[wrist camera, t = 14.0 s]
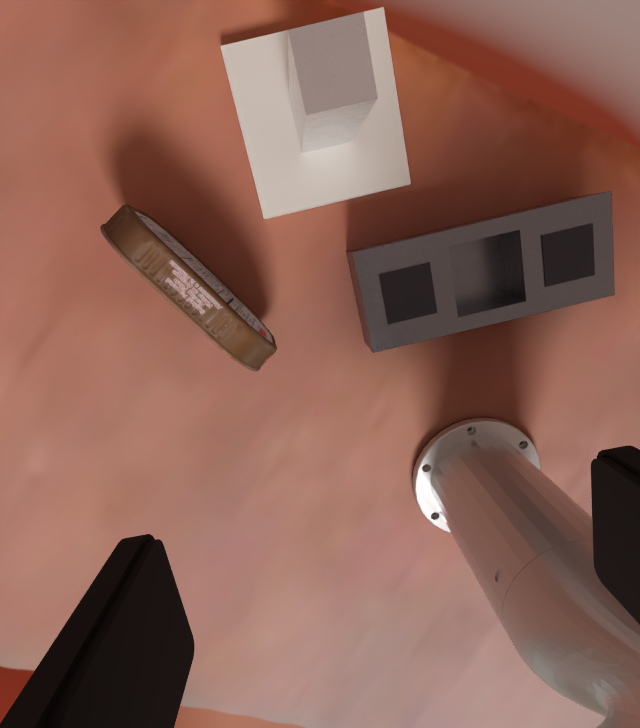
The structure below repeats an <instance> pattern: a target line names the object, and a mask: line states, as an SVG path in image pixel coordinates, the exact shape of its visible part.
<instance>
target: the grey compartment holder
mask: <svg viewBox="0 0 640 728" xmlns="http://www.w3.org/2000/svg"><path fill="white" fill-rule="evenodd" d="M346 253H347V258H348V262H349V267H350V272H351V277H352V282H353V287H354V292H355V297H356V302H357V306H358V311H359V316H360V321H361V326H362V331H363V336H364V341H365V343H366V344H367V346H368V347H369V348H370V350H371V351H372V352H373V353H374V352H379V351H383V350H387V349H391V348H395V347H400V346H404V345H408V344H412V343H416V342H420V341H425V340H429V339H433V338H437V337H441V336H446V335H450V334H454V333H458V332H462V331H466V330H471V329H475V328H479V327H483V326H487V325H491V324H496V323H500V322H504V321H508V320H512V319H517V318H521V317H525V316H529V315H533V314H537V313H542V312H546V311H550V310H554V309H558V308H562V307H567V306H571V305H575V304H579V303H583V302H588V301H592V300H596V299H600V298H604V297H608V296H613V295H615V292H614V258H613V224H612V191H608V192H602V193H596V194H590V195H584V196H578V197H574V198H569V199H565V200H561V201H557V202H553V203H549V204H544V205H540V206H536V207H532V208H528V209H523V210H519V211H515V212H511V213H507V214H503V215H498V216H494V217H490V218H486V219H482V220H478V221H473V222H469V223H465V224H461V225H457V226H452V227H448V228H444V229H440V230H436V231H432V232H427V233H423V234H419V235H415V236H411V237H407V238H402V239H398V240H394V241H390V242H386V243H381V244H377V245H373V246H369V247H365V248H361V249H356V250H352V251H348V252H346Z"/></svg>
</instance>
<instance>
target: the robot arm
mask: <svg viewBox="0 0 640 728" xmlns="http://www.w3.org/2000/svg"><path fill="white" fill-rule="evenodd" d="M469 427H470V428H469ZM468 428H469V429H468ZM412 484H413V493H414V496H415V499H416V502H417V504H418V506H419V508H420V510H421V511H422V513H423V514H424V515H425V517H426V518H427V519H428V520H429V521H430V522H431V523H432V524H434V525H435V526H436V527H438V528H440V529H442V530H444V531H446V532H449V533H452V535H453V537H454V539H455V540H456V542H457V544H458V546H459V548H460V549H461V551H462V553H463V555H464V557H465V558H466V560H467V562H468V564H469V566H470V567H471V569H472V571H473V573H474V575H475V576H476V578H477V580H478V582H479V584H480V585H481V587H482V589H483V591H484V593H485V594H486V596H487V598H488V600H489V602H490V603H491V605H492V607H493V609H494V611H495V612H496V614H497V616H498V618H499V620H500V621H501V623H502V625H503V627H504V629H505V630H506V632H507V634H508V636H509V637H510V639H511V641H512V643H513V645H514V646H515V648H516V650H517V652H518V653H519V655H520V656H521V658H522V659H523V661H524V662H525V663H526V664H527V666H528V667H529V668H530V669H531V670H532V671H533V673H534V674H536V675H537V676H538V677H539V678H540V679H541V680H542V681H543V682H544V683H546V684H547V685H548V686H549V687H551V688H552V689H553V690H555V691H556V692H558V693H559V694H561V695H563V696H564V697H566V698H568V699H569V700H571V701H573V702H575V703H577V704H579V705H581V706H583V707H585V708H587V709H589V710H591V711H593V712H596V713H598V714H600V715H602V716H605V717H606V718H605V720H604V721H603V722H602V723H601V724H600V725H599V726H598V727H596V728H640V450H639V449H637V448H635V447H633V446H623V447H617V448H612V449H607V450H602V451H600V452H599V453H598V455H597V459H594V460H593V461H592V463H591V487H592V517H591V516H590V515H589V514H588V513H586V512H585V511H584V510H583V509H582V508H581V507H580V506H579V505H578V504H576V503H575V502H574V501H573V500H572V499H571V498H570V497H569V496H568V495H567V494H565V493H564V492H563V491H562V490H561V489H560V488H559V487H558V486H557V485H556V484H554V483H553V482H552V481H551V480H550V479H549V478H548V477H547V476H546V475H544V474H543V473H542V472H541V464H540V459H539V455H538V453H537V450H536V448H535V446H534V445H533V443H532V442H531V441H530V439H529V438H528V437H527V436H526V435H525V434H524V433H522V432H521V431H520V430H519V429H517V428H516V427H514V426H513V425H511V424H509V423H507V422H504V421H501V420H498V419H492V418H473V419H468V420H463V421H461V422H458V423H455V424H453V425H451V426H449V427H447V428H445V429H444V430H442V431H440V432H439V433H438V434H437V435H436V436H435V437H433V438H432V439H431V440H430V441H429V442H428V444H427V445H426V446H425V447H424V448H423V450H422V452H421V454H420V455H419V457H418V459H417V461H416V464H415V467H414V471H413V478H412ZM193 656H194V639H193V635H192V632H191V629H190V626H189V623H188V619H187V616H186V613H185V610H184V607H183V604H182V601H181V598H180V595H179V592H178V588H177V585H176V582H175V579H174V576H173V573H172V570H171V567H170V564H169V560H168V557H167V554H166V551H165V548H164V545H163V543H162V541H161V540H159V539H158V540H155V539H154V537H153V536H152V535H150V534H146V535H141V536H135V537H130V538H125V539H122V540H121V541H120V542H119V543H118V544H117V546H116V548H115V549H114V551H113V552H112V554H111V555H110V557H109V558H108V560H107V561H106V563H105V564H104V566H103V567H102V569H101V570H100V572H99V574H98V575H97V577H96V578H95V580H94V581H93V583H92V584H91V586H90V587H89V589H88V590H87V592H86V593H85V595H84V596H83V598H82V600H81V601H80V603H79V604H78V606H77V607H76V609H75V610H74V612H73V613H72V615H71V616H70V618H69V619H68V621H67V622H66V624H65V626H64V627H63V629H62V630H61V632H60V633H59V635H58V636H57V638H56V639H55V641H54V642H53V644H52V645H51V647H50V648H49V650H48V652H47V653H46V655H45V656H44V658H43V659H42V661H41V662H40V664H39V665H38V667H37V668H36V670H35V671H34V673H33V675H32V676H31V678H30V679H29V681H28V682H27V684H26V685H25V687H24V688H23V690H22V691H21V693H20V694H19V696H18V698H17V699H16V701H15V702H14V704H13V705H12V707H11V708H10V710H9V711H8V713H7V714H6V716H5V717H4V719H3V720H2V722H1V723H0V728H174V725H175V721H176V718H177V714H178V711H179V707H180V704H181V700H182V696H183V693H184V689H185V686H186V682H187V679H188V675H189V671H190V668H191V664H192V661H193Z"/></svg>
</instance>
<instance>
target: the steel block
mask: <svg viewBox="0 0 640 728" xmlns="http://www.w3.org/2000/svg"><path fill="white" fill-rule="evenodd" d="M288 66H289V98H290V103H291V107H292V112H293V117H294V121H295V126H296V130H297V135H298V139H299V144H300V148H301V153H302V154H303V153H307V152H311V151H315V150H320V149H324V148H328V147H332V146H336V145H341V144H345V143H349V142H352V141H353V140H354V138H355V136H356V135H357V133H358V131H359V130H360V128H361V126H362V124H363V123H364V121H365V119H366V118H367V116H368V114H369V113H370V111H371V109H372V107H373V106H374V104H375V102H376V101H377V99H378V96H377V90H376V84H375V78H374V72H373V66H372V60H371V54H370V48H369V42H368V36H367V30H366V24H365V18H364V12H361V13H357V14H353V15H349V16H344V17H340V18H336V19H332V20H328V21H323V22H319V23H315V24H311V25H307V26H302V27H298V28H294V29H290V30H288Z"/></svg>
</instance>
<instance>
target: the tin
mask: <svg viewBox="0 0 640 728" xmlns="http://www.w3.org/2000/svg"><path fill="white" fill-rule="evenodd" d="M100 229H101V232H102V234H103V236H104V238H105V239H106V240H107V242H108V243H109V244H110V245H111V246H112V248H113V249H114V250H115V251H116V252H117V253H118V254H119V255H120V256H121V258H123V259H124V260H125V262H127V263H128V264H129V265H130V266H131V267H132V268H133V269H134V270H135V271H136V272H137V273H138V274H139V275H141V276H142V277H143V278H144V279H145V280H146V281H147V282H148V283H149V284H150V285H151V286H153V287H154V288H155V289H156V290H157V291H158V292H159V293H160V294H161V295H162V296H163V297H164V298H165V299H166V300H168V301H169V302H170V303H171V304H172V305H173V306H174V307H175V308H176V309H177V310H178V311H180V312H181V313H182V314H183V315H184V316H185V317H186V318H187V319H188V320H189V321H190V322H191V323H192V324H193V325H195V326H196V327H197V328H198V329H199V330H200V331H201V332H202V333H203V334H204V335H205V336H207V337H208V338H209V339H210V340H211V341H212V342H213V343H214V344H215V345H216V346H217V347H218V348H220V349H221V350H222V351H223V352H224V353H226V354H227V355H228V356H230V357H231V358H232V359H233V360H235V361H237V362H238V363H239V364H241V365H242V366H244V367H246V368H248V369H250V370H252V371H258V370H260V367H261V366H262V365H263V364H264V363H265V362H266V361H267V360H268V359H269V358H270V357H271V356H272V355H273V354H274V353H275V352H276V350H277V347H276V344H275V339H274V337H273V335H272V334H271V333H270V331H269V330H268V329H267V328H266V327H265V325H264V324H263V323H262V322H261V321H260V320H259V319H258V318H257V317H256V316H255V315H254V314H253V313H252V312H251V311H250V310H249V309H248V308H247V307H246V306H245V305H244V304H243V303H242V302H241V301H240V300H239V299H238V298H237V297H236V296H235V295H234V294H233V293H232V292H231V291H230V290H229V289H228V288H227V287H226V286H225V285H224V284H223V283H222V282H221V281H220V280H219V279H218V278H217V277H216V276H215V275H214V274H213V273H212V272H211V271H210V270H209V269H208V268H207V267H206V266H205V265H204V264H203V263H202V262H201V261H200V260H199V259H198V258H197V257H196V256H194V255H193V254H192V253H191V252H190V251H189V250H188V249H187V248H186V247H185V246H184V245H183V244H182V243H181V242H180V241H178V240H177V239H176V238H175V237H174V236H173V235H172V234H171V233H170V232H168V231H167V230H166V229H165V228H164V227H163V226H162V225H160V224H159V223H158V222H157V221H155V220H154V219H153V218H152V217H150V216H149V215H148V214H146V213H144V212H142V211H140V210H137V209H134V208H133V207H131V206H129V205H123V206H122V207H121V208H120V209H119V210H118V211H117V212H116V213H115V214H114V215H113V216H112V217H111V218H110V220H109V221H108V222H107V223H106V224H103V225H101V228H100Z"/></svg>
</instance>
